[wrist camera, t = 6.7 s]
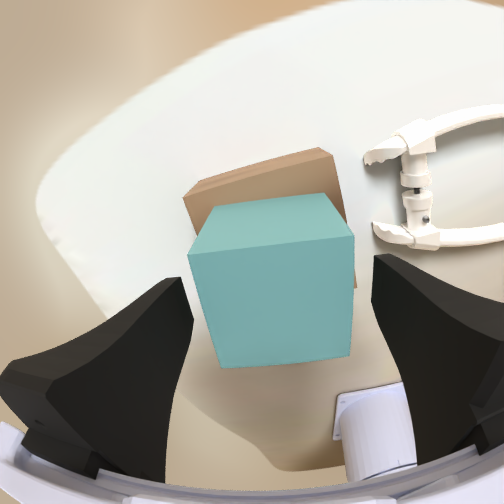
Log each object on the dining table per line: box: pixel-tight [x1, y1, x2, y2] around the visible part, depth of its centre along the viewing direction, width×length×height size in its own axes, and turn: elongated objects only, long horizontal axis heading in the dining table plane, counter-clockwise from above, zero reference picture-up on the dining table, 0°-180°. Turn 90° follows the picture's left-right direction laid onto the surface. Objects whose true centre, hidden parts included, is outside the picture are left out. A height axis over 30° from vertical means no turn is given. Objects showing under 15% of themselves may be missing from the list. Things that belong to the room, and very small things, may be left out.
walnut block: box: [183, 147, 357, 288], centre depth 16 cm, size 7×7×4 cm
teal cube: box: [187, 193, 354, 368], centre depth 12 cm, size 5×5×5 cm
